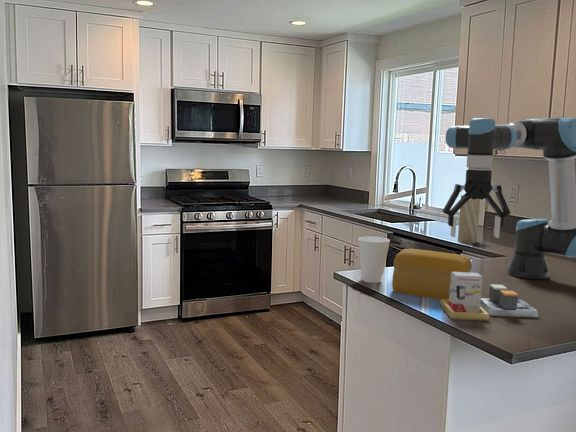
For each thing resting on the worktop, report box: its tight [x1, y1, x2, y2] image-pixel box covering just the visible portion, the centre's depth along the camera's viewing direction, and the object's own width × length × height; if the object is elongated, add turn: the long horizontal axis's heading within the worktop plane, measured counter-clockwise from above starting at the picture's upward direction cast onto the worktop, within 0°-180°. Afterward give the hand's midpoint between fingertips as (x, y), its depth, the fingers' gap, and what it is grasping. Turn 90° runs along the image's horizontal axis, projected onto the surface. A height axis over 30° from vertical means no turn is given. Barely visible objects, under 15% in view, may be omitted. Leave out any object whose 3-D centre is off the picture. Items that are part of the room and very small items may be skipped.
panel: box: [480, 297, 539, 318], centre depth 171 cm, size 14×12×2 cm
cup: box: [357, 236, 391, 284], centre depth 202 cm, size 12×12×16 cm
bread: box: [391, 248, 473, 301], centre depth 187 cm, size 24×13×15 cm, turn 60°
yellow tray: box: [439, 299, 490, 322], centre depth 167 cm, size 11×14×2 cm
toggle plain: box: [488, 283, 508, 302], centre depth 174 cm, size 4×4×5 cm
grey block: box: [499, 290, 519, 309], centre depth 167 cm, size 4×4×5 cm
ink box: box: [449, 272, 483, 313], centre depth 166 cm, size 9×5×12 cm, turn 89°
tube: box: [457, 194, 481, 244], centre depth 292 cm, size 10×10×25 cm
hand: (474, 236), depth 168 cm, fingers open, 13 cm apart
